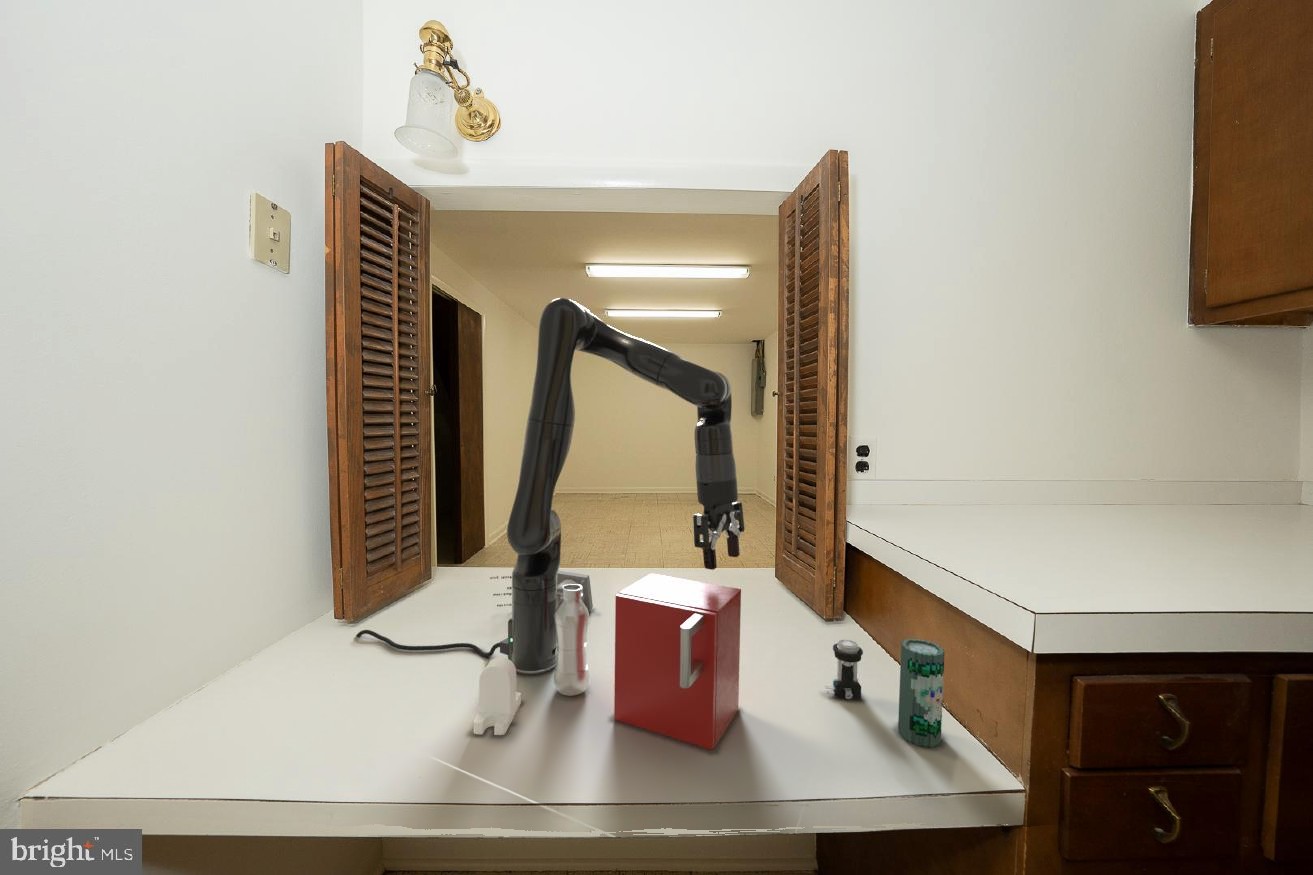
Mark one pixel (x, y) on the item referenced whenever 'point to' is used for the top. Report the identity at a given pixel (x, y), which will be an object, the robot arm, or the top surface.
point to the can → (921, 692)
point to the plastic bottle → (571, 642)
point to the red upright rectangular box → (728, 631)
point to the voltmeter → (567, 579)
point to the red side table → (666, 669)
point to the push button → (846, 670)
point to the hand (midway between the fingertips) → (722, 562)
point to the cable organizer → (497, 696)
